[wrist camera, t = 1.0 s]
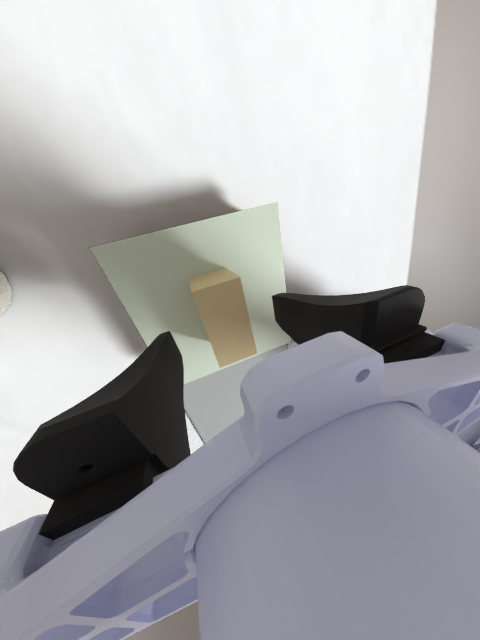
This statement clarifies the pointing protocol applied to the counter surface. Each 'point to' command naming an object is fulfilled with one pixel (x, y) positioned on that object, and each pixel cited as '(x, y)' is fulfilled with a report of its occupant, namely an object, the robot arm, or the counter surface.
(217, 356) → the lid
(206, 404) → the mat
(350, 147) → the counter surface
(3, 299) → the paper towel roll
